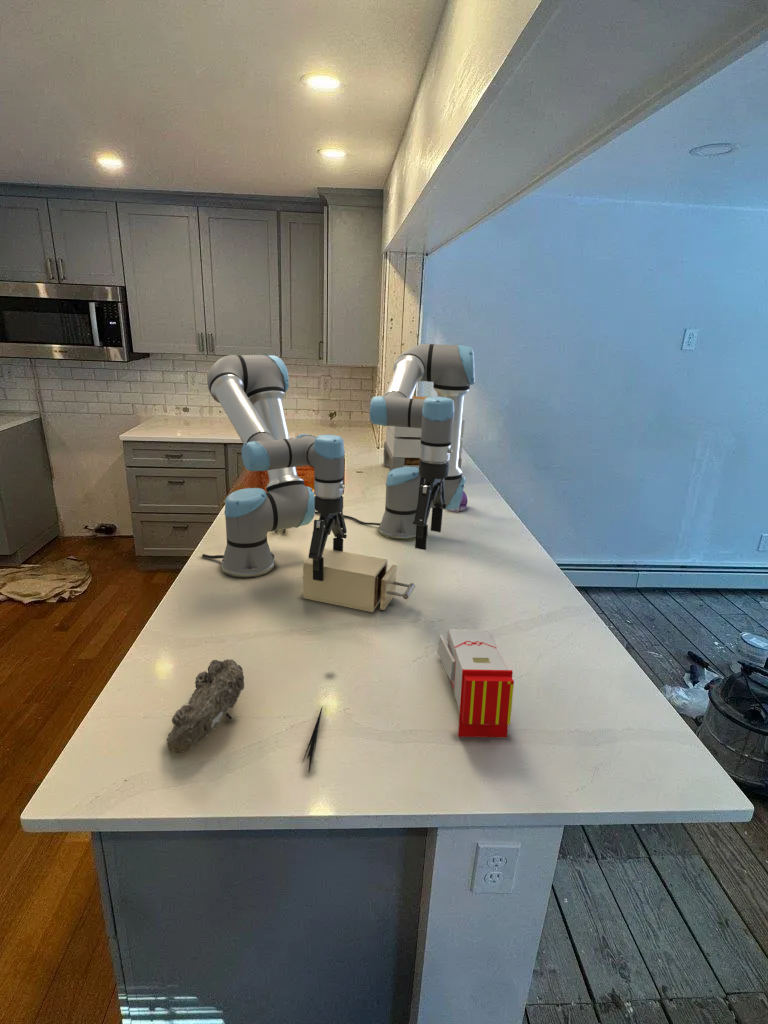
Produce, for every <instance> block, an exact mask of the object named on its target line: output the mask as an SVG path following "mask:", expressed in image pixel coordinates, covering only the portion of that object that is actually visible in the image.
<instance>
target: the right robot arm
mask: <svg viewBox="0 0 768 1024" xmlns="http://www.w3.org/2000/svg"><path fill="white" fill-rule="evenodd" d="M474 352H475V351H474V349H473V348H472V347H471V346H467V345H460V344H440V343H439V344H438V343H437V344H436V343H435V344H434V343H421V344H420V343H419V344H417V345H415V346H412V347H410V348H407V349H406V350H405V351H403V352H402V353H401V354H399V356H397V358H396V359H395V362H394V364H393V369H392V370H393V375H392V377H391V379H390V381H389V383H388V386H387V388H386V391H385V393H384V394H383V395H380V396H379V395H377V396H376V395H375V396H373V397H372V398H371V400H370V405H369V420H370V423H371V424H373V425H376V426H377V425H378V426H383V427H386V426H396V427H411V428H422V431H421V443H420V455H419V458H420V459H421V460H420V461H419V466H418V467H417V466H404V467H400V468H396V469H393V470H391V471H390V470H389V472H388V473H387V475H386V482H385V504H384V505H385V507H384V508H385V509H384V513H383V515H382V519H381V522H365V521H361V520H359V519H358V518H355V517H354V516H350V515H345V514H343V516H344V518H346V519H350V520H353V521H355V522H357V523H359V524H361V525H367V526H378V533H379V534H380V535H381V536H382V537H385V538H387V539H389V540H395V541H410V540H415V542H414V549H416V550H423V551H426V550H427V542H428V531H429V530H428V528H429V525H428V520H429V516H430V512H431V521H430V531H431V532H436V533H441V532H442V522H443V510H444V511H446V510H449V511H450V510H455V509H457V508H458V507H459V505H460V502H461V498H462V493H463V491H464V489H465V484H466V477H465V476H463V475H462V472H463V471H462V469H461V470H460V469H459V467H458V459H459V447H460V439H461V438H460V436H461V425H462V419H463V414H464V413H463V412H464V402H465V401H464V400H465V395H466V394H467V393H468V392H469V391H470V388H471V386H474V385H475V382H476V376H475V373H476V372H475V353H474ZM419 382H429V383H433V385H432V386H433V387H432V388H433V390H434V391H435V392H436V393H437V395H436V396H426V397H427V398H426V399H412V397H413V396H414V394H415V391H416V388H417V385H418V383H419ZM461 475H462V476H461ZM315 514H316V515H320V513H319V512H318V511H315Z"/></svg>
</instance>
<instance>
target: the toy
mask: <svg viewBox="0 0 768 1024" xmlns="http://www.w3.org/2000/svg"><path fill="white" fill-rule="evenodd" d="M446 640H447V643H446V641H445V639H444V636H443V635H442V634H439V637H438V646H437V656H438V657H439V659H440V661H441V663H442V666H443V668H444V670H445V672H446V674H447V677H448V679H449V681H450V684H451V687H452V690H453V693H454V697H455V701H456V705H457V708H458V711H459V714H458V715H459V716H458V730H457V731H458V732H457V737H458V738H508V731H509V726H510V725H511V717H512V707H513V697H514V696H513V695H514V684H515V680H514V679H513V673H514V671H513V670H512V669H508V667H507V665H506V662H505V661H504V659H503V658H502V655H501V653H500V651H499V649H498V647H497V643H496V639H495V637H494V635H493V634H491V632H490V631H489V629H467V628H466V629H465V628H463V629H461V628H460V629H459V628H448V630H447V639H446Z"/></svg>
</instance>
